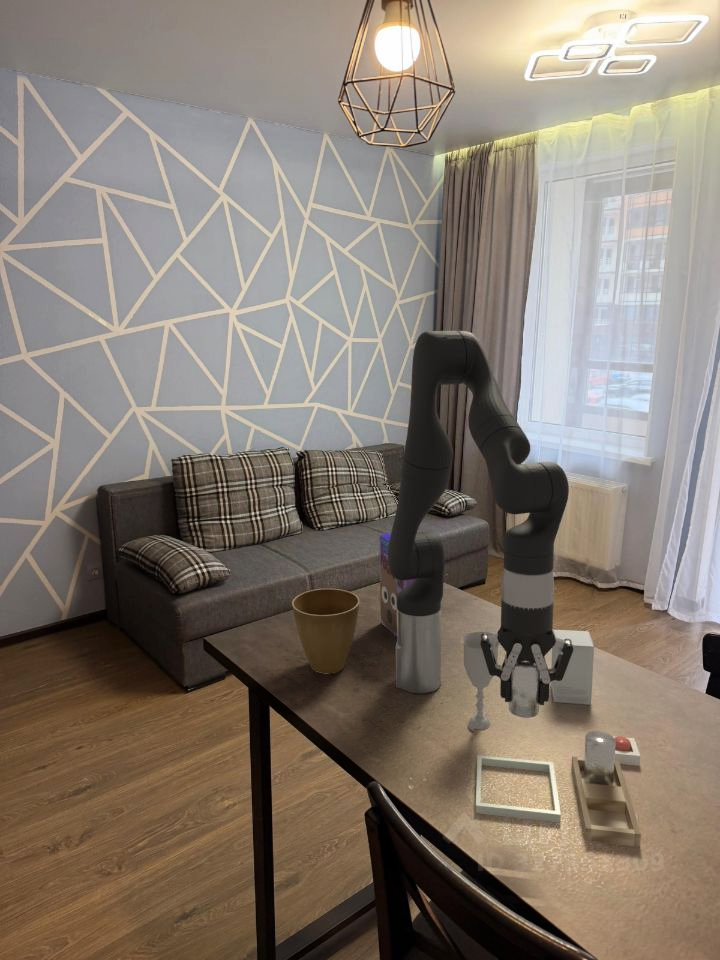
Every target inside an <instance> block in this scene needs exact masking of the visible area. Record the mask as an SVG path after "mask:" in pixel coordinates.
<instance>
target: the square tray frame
mask: <svg viewBox="0 0 720 960" xmlns="http://www.w3.org/2000/svg"><path fill="white" fill-rule="evenodd" d="M476 762H477V763H476V789H475V790H476V791H475V793H476V794H475V795H476V796H475V814H481V815H487V816H488V815H491V816H500V817H507V818H516V819H525V820H527V819H528V820H533V821H544V822H552V823H553V822H554V823H561V821H562V819H561V818H562V817H561V815H562V814H561V808H560V801H559V799H560V798H559V794H558V793H559V792H558V785H557V780H556V773H555V766H554V765H555V764H554V762H553V761H542V760H532V759H531V760H530V759H522V758H511V757H502V756H501V757H500V756H490V755H479V754H477V761H476ZM482 766H487V767H496V768H504V769H505V768H506V769H515V770H516V769H517V770H527V771H537V772H545V773H546V772H547V773H548V774H549V783H550V791H551V799H552V804H553V809H552V810H550V809H541V808H534V807H533V808H531V807H525V806H524V807H523V806H513V805H504V804H496V803H488V802H487V803H486V802H482V801H481V800H482V797H481V796H482Z"/></svg>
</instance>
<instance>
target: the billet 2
mask: <svg viewBox="0 0 720 960" xmlns="http://www.w3.org/2000/svg"><path fill="white" fill-rule="evenodd" d="M612 736H613V735H611V734H609V732H608V733H607V732H604V731H599V730H592V731H588V732H587V733H586V735H585V740H584V741H585V742H584V758H585V759H584V780H583V782H584V783H589V784H599V785H609V786H613V781H614V763H615V746H616V741H615V739H614V737H615V736H614V737H612Z"/></svg>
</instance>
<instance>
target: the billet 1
mask: <svg viewBox="0 0 720 960" xmlns="http://www.w3.org/2000/svg"><path fill="white" fill-rule="evenodd" d="M540 677H541V676H540V673H539V670H538V667H537V664H536V663H531V662H528V661H522V662H516V663H515V666H514V668H513V669H512V672H511V674H510V677H509V678H510V702H508V710H509V712H510V713H511V714H512V715H514V716H516V717H518V718H523V719H525V718H526V719H529V718H535V717H536V716H537V715H538V714H539V712H540V705H539V692H540Z"/></svg>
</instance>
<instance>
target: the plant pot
mask: <svg viewBox="0 0 720 960" xmlns="http://www.w3.org/2000/svg"><path fill="white" fill-rule="evenodd" d="M291 605H292V607H291V608H292V612H293V616H294V620H295V621H294V622H295V625H296V629H297V634H298V636H299V638H300V643H301V646H302V648H303V651H304V654H305V656H306V659H307V661H308V663H309V666H310V667H312V668H313V669H314V670H315V671H318V672H322V673H333V672H337V673H339V672H340V670H341V671H342V670H343V669H344V668H345V664H346V662H347V659H348V657H349V654H350V651H351V647H352V644H353V641H354V638H355V637H354V636H355V632H356V628H357V622H358V615H359V609H360V597H359V596H358V595H356V594H355V593H353V592H351V591H348V590H344V589H339V588H317V589H312V590H307V591H304V592H301V593H300V594H298V595H297V596H295V597H294V598H293V599H292V602H291ZM312 668H311V669H312ZM313 669H312V670H313ZM315 671H314V672H315ZM338 671H339V672H338Z"/></svg>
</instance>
